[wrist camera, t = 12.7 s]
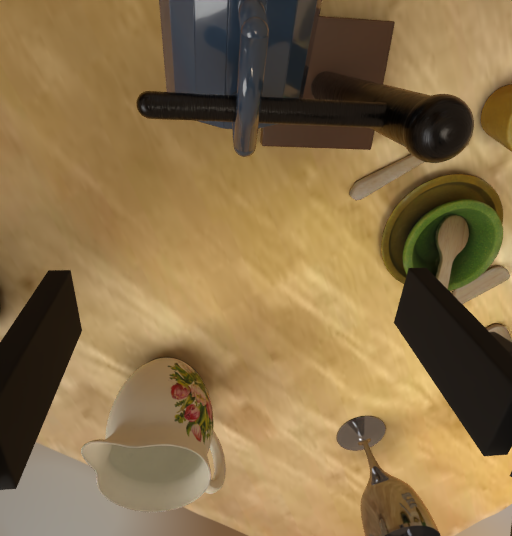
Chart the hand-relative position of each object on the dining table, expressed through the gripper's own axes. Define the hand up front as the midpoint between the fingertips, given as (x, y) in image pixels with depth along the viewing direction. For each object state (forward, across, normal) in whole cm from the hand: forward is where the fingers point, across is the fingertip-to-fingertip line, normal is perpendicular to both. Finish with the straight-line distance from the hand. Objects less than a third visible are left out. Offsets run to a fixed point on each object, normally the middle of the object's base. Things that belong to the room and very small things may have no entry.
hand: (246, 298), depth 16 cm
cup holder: (+24, +4, +6) cm, 25 cm away
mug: (+9, 0, +14) cm, 17 cm away
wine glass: (+24, +20, -39) cm, 50 cm away
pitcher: (+24, -6, -28) cm, 38 cm away
